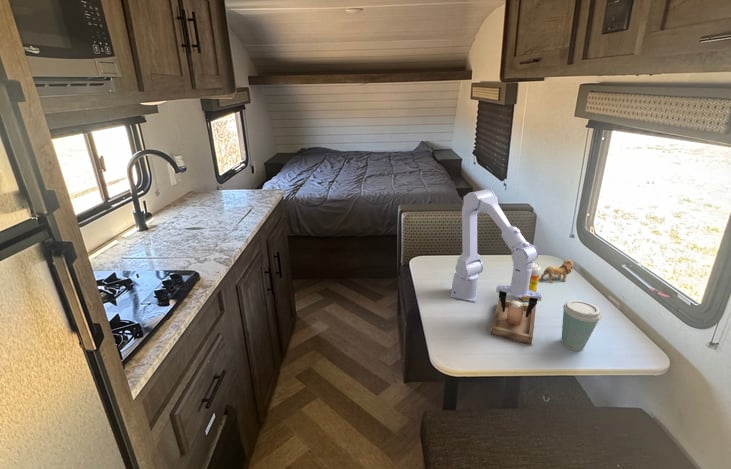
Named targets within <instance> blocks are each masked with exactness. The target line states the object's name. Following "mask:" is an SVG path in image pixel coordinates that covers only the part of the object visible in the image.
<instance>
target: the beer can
mask: <svg viewBox="0 0 731 469" xmlns="http://www.w3.org/2000/svg"><path fill="white" fill-rule="evenodd" d="M540 273H541V264H539V263H538V262H535V261H533V267H532V272H531V278H530V283H529V290H531V291H534V292H537V289H538V284H539V278H540ZM519 299H520V300H522V301H524V302H529V298H527V297H521V298H519Z"/></svg>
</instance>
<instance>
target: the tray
mask: <svg viewBox="0 0 731 469" xmlns="http://www.w3.org/2000/svg"><path fill="white" fill-rule="evenodd" d="M497 301H498V302H497V305H496V308H495V313H494V317H493V320H492V324H491V327H490V328H491V329H490V336H494V337H497V338H502V339H506V340H509V341H514V342H517V343H521V344H526V345H529V346H532V343H533V338H534V327H535V318H536V311H537V310H536V309H537V305H536V306H535V307H534V308H533V309H532V310H531V311H530V313H529V315H528V317H526V311H527V308H528V304H525V303H523V304H524V310H523V316H522V321H521V324H520V325H518V326H514V325H511V324H509V323H507V321H506V318H507V312H508V306H509V302H510V301H511V300H507V299H506V307H505V312H502V304H501V301H500V299H499V298H498V300H497Z"/></svg>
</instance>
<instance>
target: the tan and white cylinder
mask: <svg viewBox="0 0 731 469" xmlns="http://www.w3.org/2000/svg"><path fill="white" fill-rule="evenodd" d="M509 301H510V302H509V306H508V312H507V318H506V321H507V323H509V324H511V325H514V326H518V325H520V324H521V321H522V316H523V310H524V304H525V303H522V302H521V301H518V300H509Z"/></svg>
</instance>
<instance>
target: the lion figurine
mask: <svg viewBox="0 0 731 469" xmlns="http://www.w3.org/2000/svg"><path fill="white" fill-rule="evenodd" d="M573 268H574V262H573V260H571V259H566V260H563V263H562V264H561V265H560V266H550V265H549V266H546V268H545V269H544V271H543V273H542V274H541V275H540V276H541V277H540V280H539V281H540V282H543V280H545V279H544V277H545V276H547V275H548V278H547V280H548V281H549V282H550V283H551V284H554V281H553V280H552V278H553V276H554V275H555V276H558V277H557V279H558V280H561V279H562V282H565V283H566V282H567V280H566V278H567V276H568V275H569V274H571V273H572V271H573Z"/></svg>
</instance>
